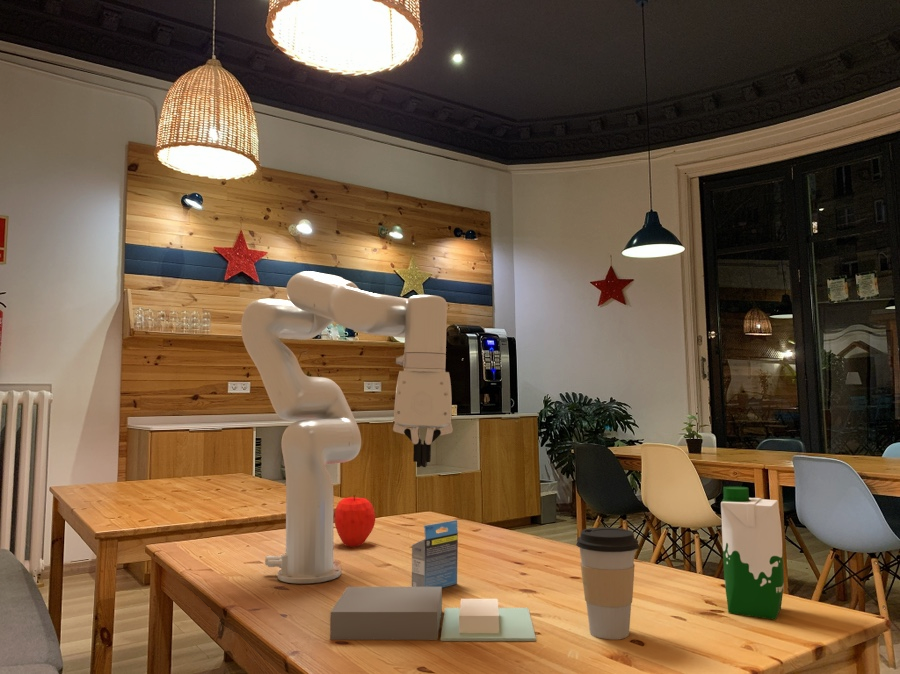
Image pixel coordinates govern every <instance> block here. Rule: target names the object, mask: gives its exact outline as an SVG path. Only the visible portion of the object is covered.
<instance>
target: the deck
mask: <svg viewBox="0 0 900 674" xmlns="http://www.w3.org/2000/svg"><path fill="white" fill-rule="evenodd" d="M442 590H443V588H442V587H412V586H347V587H346V588H345V590H344V591H343V593H342V594H341V596H340V597H339V599H338V600H337V602H336V603H335V604H334V606H333V607H332V609H331V611H330V616H329V618H330V620H329V622H330V623H329V625H330V627H329V628H330V632H329V635H330V638H329V639H330V641H331V640H332V641H334V640H336V641H338V640H339V641H340V640H342V641H344V640H345V641H346V640H347V641H349V640H350V641H351V640H352V641H354V640H355V641H356V640H357V641H361V640H362V641H363V640H364V641H368V640H370V641H374V640H377V641H380V640H381V641H382V640H383V641H386V640H387V641H389V640H392V641H401V640H402V641H427V640H428V641H430V640H431V641H438V638H439V634H440V633H439V631H440V626H441V619H442V614H443V594H442V593H443V591H442Z"/></svg>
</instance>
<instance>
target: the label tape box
mask: <svg viewBox="0 0 900 674" xmlns="http://www.w3.org/2000/svg"><path fill="white" fill-rule="evenodd" d="M441 528H442V529H444V530H445V529H446V530H445V531H442V532H437V530H440V529H441ZM423 529H424V539H422V540H420V541H417V542H416V543H413V544H411V587H442V589H443V588H446V587H451V586H454V585H458V555H459V553H458V552H459V551H458V550H459V549H458V547H459V546H458V545H459V544H458V543H459V541H458V540H459V537H458V536H459V533H458V532H459V531H458V519H455V520H449V521H443V522H438V523H432V524H425V525H423Z"/></svg>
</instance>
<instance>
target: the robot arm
mask: <svg viewBox="0 0 900 674" xmlns="http://www.w3.org/2000/svg"><path fill="white" fill-rule="evenodd" d="M285 291H286V296H287V298H288V299H289V300H287V299H286V300H285V299H279V298H278V299H277V298H260V299H255V300H254V301H251V302H250V303H249V304H248V305H246V307H245V309H244V310H243V314H242V316H241V323H240V324H241V325H240V328H241V337H242V343H243V344H244V347H245V349H246V352H247V354H248V355H249V356H250V358H251V360H252V362H253V363H254V365H255V367H256V369H257V371H258V373H259V375H260V378H261V381H262V383H263V386H264V389H265V390H266V393H267V396H268V398H269V400H270V403H271V405H272V408H273V409H274V413H275V414H276V415H277V416H278V418H279V419H281V420H283V421H289V422H293V423H291V424H289V425H288V426H287V427H286V428H285V429H284V431H283V433H282V438H281V442H280V443H281V452H282V458H283V462H284V463H283V464H284V469H285V502H286V503H285V552H284V553H281V554H280V555H266V556H265V559H264V564H265V566H267V568H268V567H269V568H276V567H279V569H280V570H278V571H277V580H279V581H280V582H284V583H287V584H288V583H289V584H301V585H302V584H307V585H308V584H318V583H324V582H328V581H332V580H335V579H337V578H339V577H340V576H341V575H342V568H341V567H340V566H338V565H335V564H334V516H335V509H334V502H335V501H334V500H335V499H334V484H333V480H332V478H331V475H330V473H329V471H328V469H327V467H326V465H332V464H334V465H335V464H341V463H347V462H350V461H352V460H355V458H356V457H357V456H358V455H359V453H360V450H361V447H362V436H361V435H362V434H361V431H360V428H359V426H358V423H357V421H356V419H355V417H354V415H353V414H354V413H353V412H352V410H351V407H350V405H349V403H348V401H347V399H346V397H345V394H344V392H343V391H342V389H341V387H340V386H339V385H338V384H337V383H336V382H335V381H334V380H332V379H330V378H328V377H324V376H308V375H306V374H305V373H304V371H303V370H302V367H301V366H300V364H299V360H298V358H297V357H296V355H295V354H294V353H293V352H294V351H292V350H291V349H290V348H289V347H288V346H287V345H286V344H285V343H284V342H283V341H282V340H281V339H287V340H288V339H289V340H299V341H300V340H301V341H303V340H310V339H314V338H315V337H316V336H318V335H320V334H321V333H322V332H324V331H325V330H326V329H327V328H329V326H330V325H332V324H333V323H335V324H337V325H338V326H341V327H343V328H346V329H350V330H352V331H356V332H358V333H363V334H366V335H373V336H385V337H395V338H404V347H403V348H404V352H403V355H401V356H396V358H395V364H396V365H400V366H402V367H403V370H399V372H398V376H397V379H396V380H397V382H396V386H395V387H396V388H395V397H394V407H393V408H394V409H393V420H394V421H393V422H394V424H393V427H392V431H393V432H394V433H397V434H401V435H405V436H406V437H407V438H408V439H409V441H411V443H412V444H413V462H414V463H415V462H416V467H417V468H420V467H422V468H426V467H427V466H428V463H431V460H432V455H431V454H432V444H433V442H434V441H435V440H437V438H439V436H440V437H441V436H444V435H449V434H452V433H453V425H452V415H453V409H452V408H453V407H452V405H453V404H452V399H453V398H452V385H451V384H452V383H451V382H452V381H451V377H450V372H449V371H446V359H447V357H446V356H447V355H446V354H447V353H446V352H447V348H446V347H447V326H448V325H447V320H448V319H447V318H448V316H447V315H448V303H447V301H446V299H445V298H444V297H442V296H439V295H432V294H431V295H430V294H417V295H412V296H409V297H408V298H404V297H400V296H399V297H398V296H394V295H389V294H381V293H375V292H374V293H373V292H371V291H370V292H369V291H366V290H361V289H360V288H359V287H358V286H357V285H356V284H355V283H354V282H352V281H350V280H347V279H345V278H343V277H342V276H338V275H335V274H330V273H329V274H328V273H323V272H317V271H311V270H310V271H309V270H308V271H307V270H305V271H300V272H298V273H296V274H294V275H293V276H291V277H290V279H289V280H288V282H287V285H286V290H285ZM420 428H426V429H427V430H426V434H425V439H424V440H423V443H422V439H421V435H420Z"/></svg>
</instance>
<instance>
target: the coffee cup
mask: <svg viewBox="0 0 900 674" xmlns="http://www.w3.org/2000/svg"><path fill="white" fill-rule="evenodd" d="M575 545H576V547H577V548H579V554H580V570H581V579H582V586H583V587H582V588H583V594H584V601H585V604H586V610H587V618H588V619H587V620H588V625H589V626H588V627H589V632H590V635H592V636H593V637H595V638H599V639H603V640H604V639H605V640H615V641H616V640H623V639H626V638H627V637H629V635H630V627H631V626H630V625H631V610H632V603H633V597H634V596H633V595H634V582H635V581H634V580H635V566H636V565H635V562H634V561H635V551H636V550H638V549H639V548H640V544H639V540H638V539H637V538H635V534H634V531H632V530H629V529H625V528H621V527H620V528H618V527H609V526H608V527H605V526H604V527H589V528H585V529H582V530H581V531H580V536H578V537H577V538H576V543H575Z"/></svg>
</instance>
